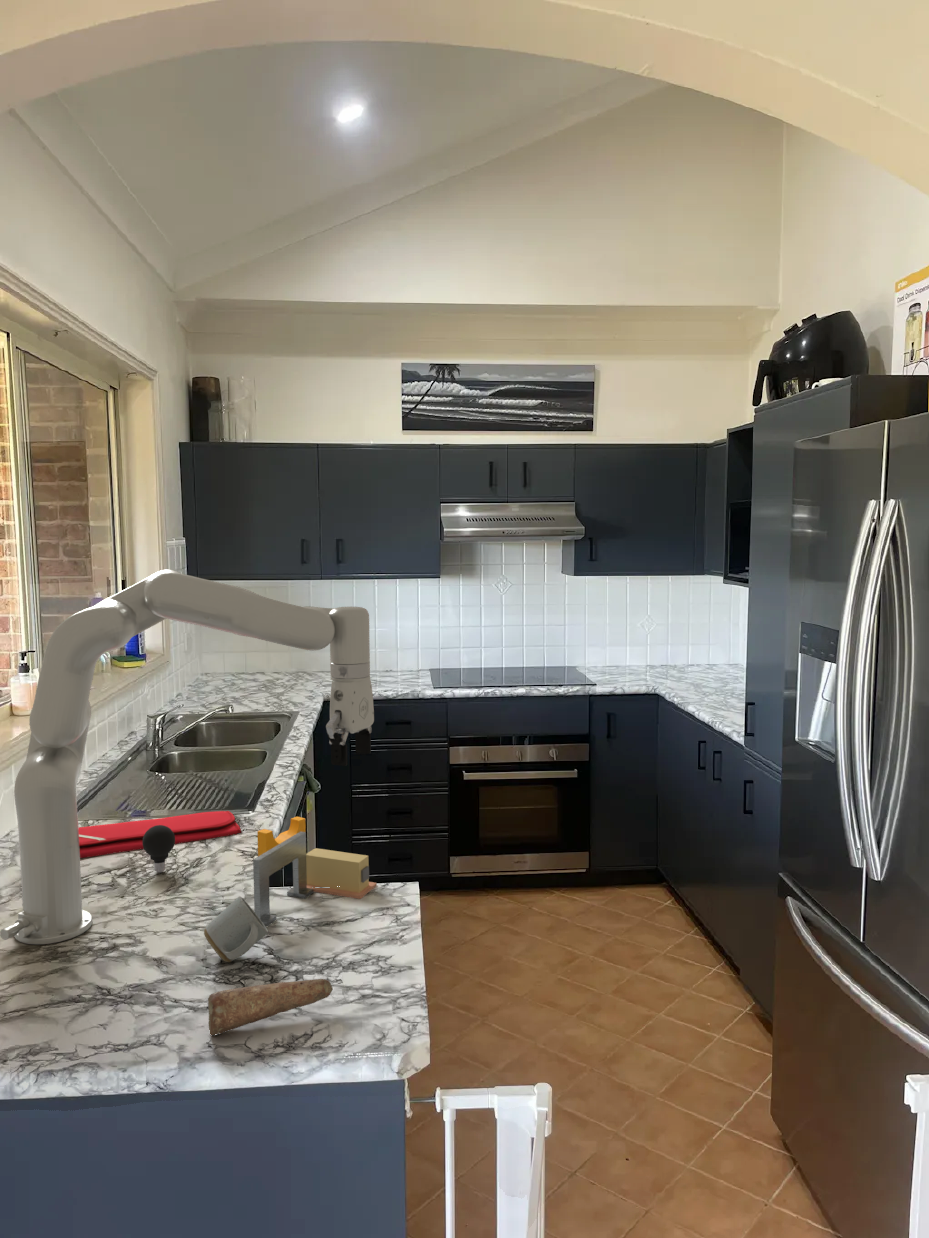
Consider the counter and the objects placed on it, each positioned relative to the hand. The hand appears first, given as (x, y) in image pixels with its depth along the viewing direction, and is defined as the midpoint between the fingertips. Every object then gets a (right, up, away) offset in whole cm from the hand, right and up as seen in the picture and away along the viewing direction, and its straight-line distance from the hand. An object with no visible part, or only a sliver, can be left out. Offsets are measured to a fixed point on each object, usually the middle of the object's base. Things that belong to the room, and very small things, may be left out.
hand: (351, 758), depth 172 cm
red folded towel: (-52, -24, +33) cm, 66 cm away
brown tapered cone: (-6, -31, -44) cm, 54 cm away
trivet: (-3, -26, +4) cm, 27 cm away
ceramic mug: (-15, -29, -27) cm, 42 cm away
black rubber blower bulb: (-41, -26, +12) cm, 50 cm away
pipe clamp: (-19, -25, +24) cm, 39 cm away
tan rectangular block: (-3, -26, +4) cm, 26 cm away
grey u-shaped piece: (-12, -27, -6) cm, 30 cm away
